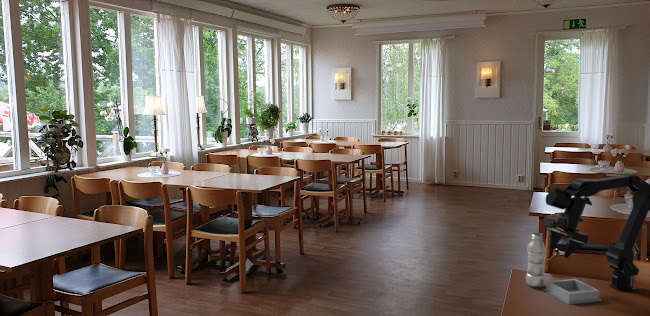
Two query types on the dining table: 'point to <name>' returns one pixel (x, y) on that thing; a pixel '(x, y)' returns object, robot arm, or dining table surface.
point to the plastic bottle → (536, 261)
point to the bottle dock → (572, 291)
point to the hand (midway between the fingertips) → (558, 253)
